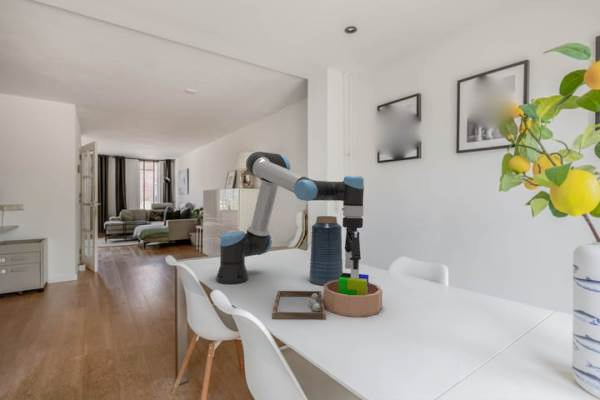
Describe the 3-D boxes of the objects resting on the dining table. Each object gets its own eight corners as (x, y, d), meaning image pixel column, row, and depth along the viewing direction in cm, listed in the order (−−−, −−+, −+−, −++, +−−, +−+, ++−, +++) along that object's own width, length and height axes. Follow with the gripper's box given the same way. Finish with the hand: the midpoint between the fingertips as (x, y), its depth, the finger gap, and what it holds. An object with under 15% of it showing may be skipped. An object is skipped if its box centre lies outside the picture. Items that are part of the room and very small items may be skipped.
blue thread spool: (348, 280, 148) (348, 216, 148) (333, 288, 135) (334, 218, 135) (319, 275, 157) (319, 215, 157) (303, 282, 143) (303, 216, 143)
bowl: (322, 296, 124) (322, 279, 124) (373, 296, 124) (373, 279, 124) (326, 316, 102) (326, 296, 102) (388, 317, 102) (388, 296, 102)
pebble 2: (310, 304, 113) (307, 300, 111) (316, 299, 113) (313, 296, 111) (313, 310, 111) (310, 307, 109) (320, 305, 111) (317, 302, 109)
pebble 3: (312, 309, 108) (312, 301, 108) (320, 309, 108) (320, 301, 108) (312, 313, 106) (312, 304, 105) (320, 313, 105) (320, 304, 105)
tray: (277, 295, 124) (277, 290, 124) (321, 295, 124) (321, 291, 124) (272, 318, 100) (272, 313, 100) (325, 319, 100) (325, 313, 100)
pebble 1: (311, 299, 120) (311, 292, 119) (318, 299, 119) (318, 292, 119) (311, 302, 116) (311, 294, 116) (319, 302, 116) (319, 294, 116)
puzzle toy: (368, 300, 116) (368, 274, 116) (366, 309, 106) (366, 281, 106) (342, 297, 119) (342, 272, 119) (338, 306, 109) (338, 279, 109)
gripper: (338, 214, 125) (337, 264, 126) (348, 219, 100) (346, 282, 101) (356, 214, 125) (355, 265, 126) (370, 220, 100) (368, 282, 101)
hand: (351, 273), depth 113 cm, fingers open, 13 cm apart
